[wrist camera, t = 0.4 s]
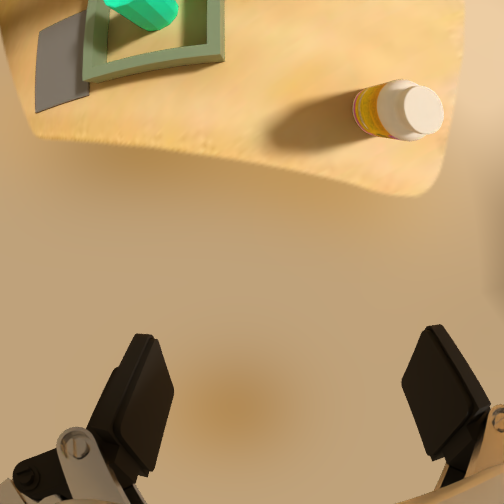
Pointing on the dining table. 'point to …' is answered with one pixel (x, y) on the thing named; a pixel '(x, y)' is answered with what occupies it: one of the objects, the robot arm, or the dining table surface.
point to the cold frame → (188, 55)
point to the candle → (146, 12)
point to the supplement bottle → (398, 110)
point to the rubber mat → (60, 63)
